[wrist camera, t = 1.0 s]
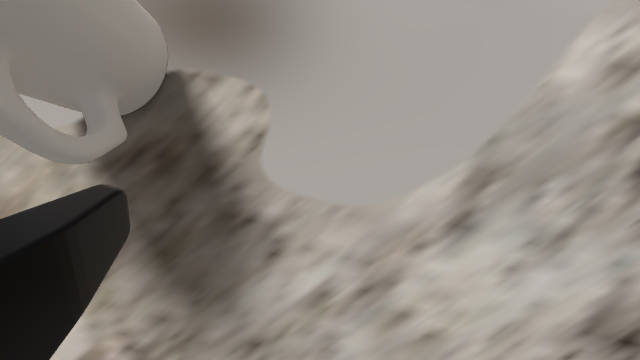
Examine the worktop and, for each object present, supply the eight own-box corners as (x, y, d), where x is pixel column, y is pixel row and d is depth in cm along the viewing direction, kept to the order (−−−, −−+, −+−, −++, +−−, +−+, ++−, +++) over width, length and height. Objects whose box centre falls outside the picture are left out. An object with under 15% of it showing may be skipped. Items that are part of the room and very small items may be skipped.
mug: (36, 28, 25) (-262, -135, 13) (147, -23, 24) (-55, -239, 13) (98, 199, 24) (-159, 194, 12) (214, 150, 24) (67, 94, 12)
